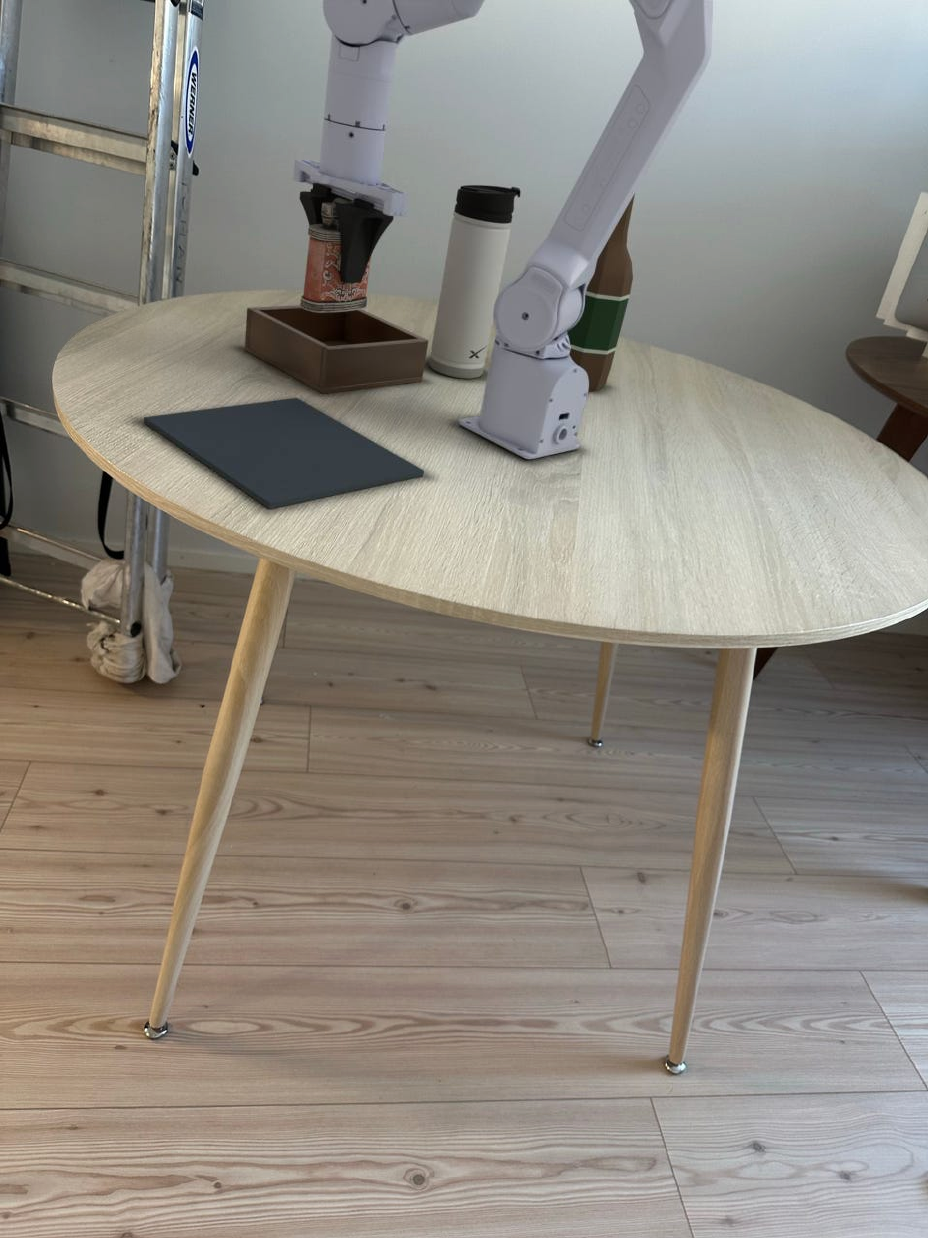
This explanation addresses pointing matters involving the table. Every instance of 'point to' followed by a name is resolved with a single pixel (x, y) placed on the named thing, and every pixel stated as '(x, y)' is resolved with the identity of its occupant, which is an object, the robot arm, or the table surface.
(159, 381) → the table surface
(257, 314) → the brown wooden tray
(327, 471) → the mat
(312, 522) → the table surface
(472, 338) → the travel mug
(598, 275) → the beer bottle
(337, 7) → the robot arm
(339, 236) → the lighter
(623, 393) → the table surface
